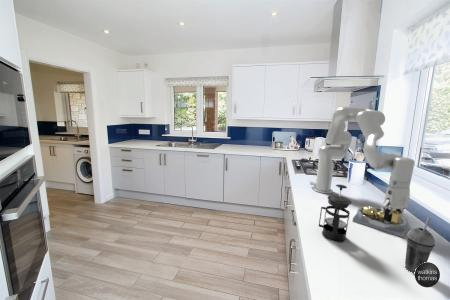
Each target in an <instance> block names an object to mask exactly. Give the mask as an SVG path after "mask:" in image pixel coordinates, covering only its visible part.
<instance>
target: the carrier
mask: <svg viewBox="0 0 450 300" xmlns="http://www.w3.org/2000/svg"><path fill="white" fill-rule="evenodd" d="M384 213H385V212H384V209H383V207H382V206H381V207H376V206H370V205H364V206H360V207H359V208H358V209H357V212H356V214H354V216H353V218H352V222H354V223H357V224H360V225H363V226H366V227H369V228H372V229H375V230H378V231H381V232H385V233H387V234H390V235H393V236H396V237H400V238H402V239H404V237H405V233H406V228H407V223H408V219H407V218H406V219H405V218H404V217H401V221H400V224H397V225H396V224H391V223H389V222H387V221H385V220H384Z"/></svg>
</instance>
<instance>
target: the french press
mask: <svg viewBox="0 0 450 300" xmlns="http://www.w3.org/2000/svg"><path fill="white" fill-rule="evenodd" d="M335 187H336V188H339V195H334V194H333V195H332V194H331V195H328V196H327V200H328V201H327V203H328V204H329V205H327V206H321V207H320V214H319V219H318V221H319V222H318V227H320V228H321V229H322V231H321V234H322V236H323V238H326V239H327V240H329V241H331V242H335V243H344V242H346V240H347V231H348V225H349V218H350V211H349V210H348V209H347V208H348V207H349V206H350V205H351V204H352V200H351V199H349V198H347V197H344V196H342V195H341V194H342V191H343V189H348V187H347V186H346V185H345V184H335ZM330 209H331V210H333V209H334V212H332V211H330ZM322 210H325V212H324V220H323V224H321V219H322ZM340 211H342V212H343V213H346V214H340ZM327 214H328V215H329V216H332V217H326V215H327ZM342 219H347V220H346V222H345V221H343V220H342Z"/></svg>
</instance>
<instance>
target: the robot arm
mask: <svg viewBox="0 0 450 300" xmlns="http://www.w3.org/2000/svg"><path fill="white" fill-rule="evenodd" d="M346 122H348V123H349V122H350V123H351V122H352V123H357V124H358V126H359V129H360V130H361V133H362V135H363V138H364V139H365V141H364V144H363V154H364V158H365V159H366V162H367V164H368V165H369V166H370V167H371V168H373V169H375V170H391V172H390V176H389V182H388V186H387V189H386V192H385V195H384V200H383V204H382V205H381V207H383V209H384V212H385V213H384V220H386V221H388V222H391V219H392V212H393V210H397V211H399V212H401V214H402V216H403V214H404V211H405V209H407V208H408V207H409V203H410V196H411V189H410V186H411V182H412V177H413V173H414V167H415V162H416V161H415V160H414V159H413V158H410V157H405V156H400V155H397V154H394V153H380V151H379V149H378V147H377V141H378V140H381V139H382V138H383V137H384V135H385V132H384V130H383V128H382V127H381V126H382V125H384V124H385V123H386V117H385V114H384V113H383V112H382V111H379V110H374V109H370V108H365V107H354V106H340V107H338V108H336V109H335V110H334V112H333V114H332V117H331V123H330V125H329V129H328V131H327V134H326V137H325V142H326V143H327V144H326V145H321V146H320V147H319V148H318V151H317V155H318V164H317V171H316V173H317V174H316V181H309V185H311V186H312V190H313V191H315V192H317V193H321V194H327V195H328V194H332V193H333V189H332V180H333V175H334V174H333V173H334V169H335V168H334V163H333V160H342V159H344V158H345V156H346V155H347V152H348V150H349V148H350V145H351V143H352V139H353V138H352V134H351V132H349V131H347V130H346V125H347V124H346ZM389 209H390V210H389ZM402 216H401V217H402ZM402 218H403V217H402Z"/></svg>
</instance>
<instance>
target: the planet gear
mask: <svg viewBox="0 0 450 300" xmlns="http://www.w3.org/2000/svg"><path fill="white" fill-rule="evenodd" d="M388 209H389V210H390V209H391V208H388ZM401 216H403V213H402V214H401V212H399V211H397V210H396V209H393V212H392V219H391V222H389V223H391V224H396V225H397V224H400V221H401ZM385 221H386V220H385ZM387 222H388V221H387Z"/></svg>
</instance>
